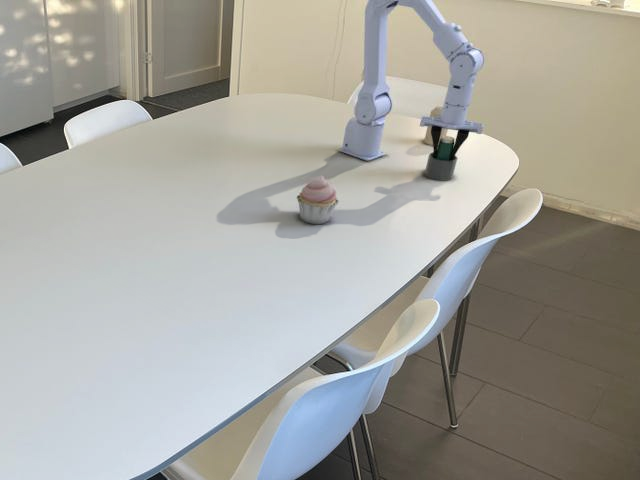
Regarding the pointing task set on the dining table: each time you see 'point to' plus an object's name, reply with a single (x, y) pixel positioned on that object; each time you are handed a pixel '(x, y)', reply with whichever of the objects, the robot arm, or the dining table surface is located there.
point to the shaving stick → (445, 148)
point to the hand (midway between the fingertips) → (442, 157)
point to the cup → (440, 168)
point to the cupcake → (317, 201)
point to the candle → (428, 137)
